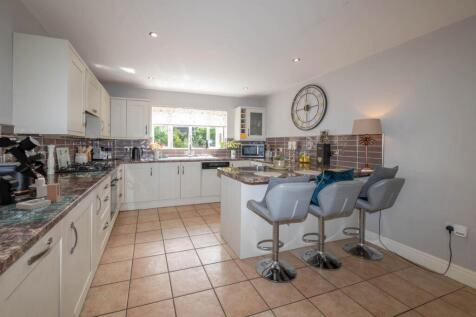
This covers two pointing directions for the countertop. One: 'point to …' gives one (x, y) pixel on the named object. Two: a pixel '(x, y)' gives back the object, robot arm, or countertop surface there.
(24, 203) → the socket block
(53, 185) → the plug
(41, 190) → the printed box
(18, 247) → the countertop surface
